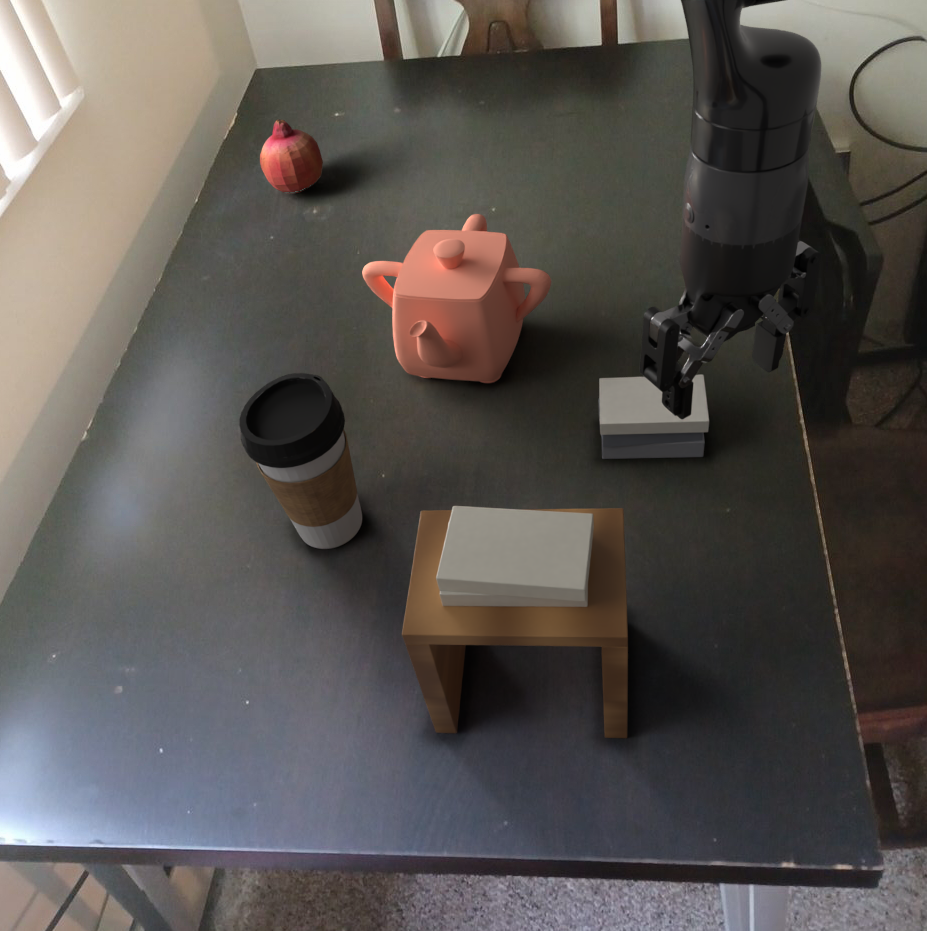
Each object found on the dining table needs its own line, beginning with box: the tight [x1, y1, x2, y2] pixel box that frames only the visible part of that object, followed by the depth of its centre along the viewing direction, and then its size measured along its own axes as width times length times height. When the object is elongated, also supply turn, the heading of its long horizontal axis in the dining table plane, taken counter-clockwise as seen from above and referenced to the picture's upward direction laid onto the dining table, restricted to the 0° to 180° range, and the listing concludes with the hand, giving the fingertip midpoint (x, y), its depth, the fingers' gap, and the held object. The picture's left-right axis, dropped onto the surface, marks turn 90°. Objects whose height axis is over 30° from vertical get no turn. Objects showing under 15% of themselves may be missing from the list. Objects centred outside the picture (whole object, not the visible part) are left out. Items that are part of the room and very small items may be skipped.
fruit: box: [259, 119, 324, 194], centre depth 118 cm, size 8×8×10 cm
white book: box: [598, 374, 710, 436], centre depth 80 cm, size 9×6×1 cm, turn 85°
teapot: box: [361, 213, 552, 384], centre depth 90 cm, size 17×16×13 cm
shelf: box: [401, 507, 629, 739], centre depth 64 cm, size 14×10×14 cm
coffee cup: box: [238, 372, 363, 550], centre depth 76 cm, size 8×8×15 cm
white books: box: [436, 505, 594, 607], centre depth 58 cm, size 10×7×3 cm
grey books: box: [597, 397, 706, 460], centre depth 82 cm, size 9×5×4 cm, turn 85°
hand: (722, 388), depth 70 cm, fingers open, 8 cm apart
